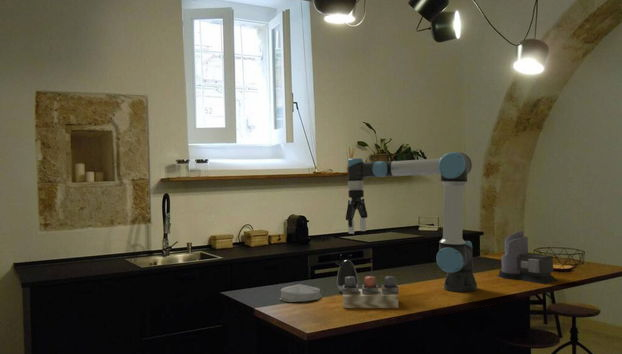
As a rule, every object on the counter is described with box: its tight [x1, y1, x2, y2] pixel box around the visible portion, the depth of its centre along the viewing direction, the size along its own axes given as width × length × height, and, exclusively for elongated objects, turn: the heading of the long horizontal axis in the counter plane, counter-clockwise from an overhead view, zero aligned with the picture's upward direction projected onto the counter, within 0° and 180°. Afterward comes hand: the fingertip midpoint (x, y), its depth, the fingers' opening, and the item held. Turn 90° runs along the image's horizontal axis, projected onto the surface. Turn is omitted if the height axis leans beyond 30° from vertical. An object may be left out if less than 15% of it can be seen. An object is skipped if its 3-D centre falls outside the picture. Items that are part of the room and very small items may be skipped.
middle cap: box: [364, 275, 376, 288], centre depth 235 cm, size 4×4×4 cm
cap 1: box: [345, 276, 355, 288], centre depth 236 cm, size 4×4×4 cm
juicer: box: [496, 230, 559, 285], centre depth 282 cm, size 30×16×24 cm, turn 33°
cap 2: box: [384, 275, 396, 287], centre depth 234 cm, size 4×4×4 cm
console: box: [341, 284, 400, 309], centre depth 235 cm, size 24×14×8 cm, turn 84°
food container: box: [279, 283, 323, 303], centre depth 250 cm, size 20×20×7 cm
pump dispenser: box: [335, 259, 359, 292], centre depth 261 cm, size 10×10×15 cm
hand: (357, 232), depth 271 cm, fingers open, 13 cm apart
